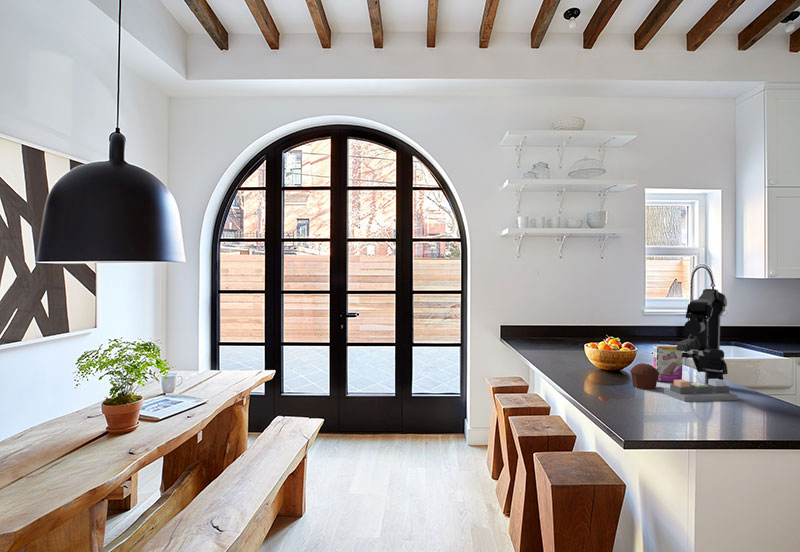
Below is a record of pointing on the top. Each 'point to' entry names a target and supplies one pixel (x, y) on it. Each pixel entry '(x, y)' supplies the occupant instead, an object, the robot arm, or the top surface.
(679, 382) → the terracotta button
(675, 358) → the candy bar box
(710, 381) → the slate button
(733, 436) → the top surface
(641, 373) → the muffin
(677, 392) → the button panel
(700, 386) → the sage button
